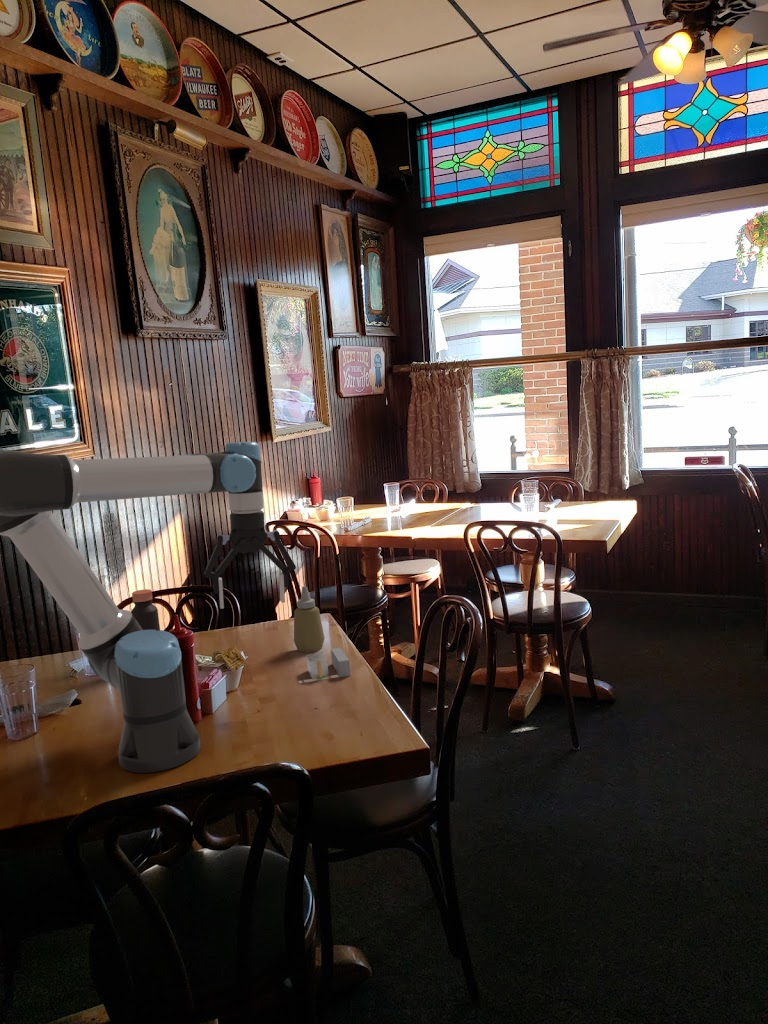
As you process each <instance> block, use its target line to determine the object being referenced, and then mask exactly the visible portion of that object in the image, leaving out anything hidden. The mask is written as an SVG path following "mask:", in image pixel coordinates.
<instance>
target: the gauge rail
mask: <svg viewBox="0 0 768 1024" xmlns="http://www.w3.org/2000/svg"><path fill="white" fill-rule="evenodd" d="M330 654H331V664H332V666H333V668H334V670H335V671H336V673H337V674H334V675H329V676H325V677H321V678H320V677H318V678H314V679H312V678H310V679H302V680H298V684H303V683H311V682H317V681H318V682H319V681H322V680H331V679H335V678H345V677H351V668H350V667H351V665H350V659H349V658H348V656H347V654H346V653H345V651H343V649H342V647H337V648H331V649H330Z"/></svg>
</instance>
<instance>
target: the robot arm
mask: <svg viewBox="0 0 768 1024" xmlns="http://www.w3.org/2000/svg"><path fill="white" fill-rule="evenodd" d="M224 448H225V449H224V451H222V452H221V451H220V452H207V453H205V452H204V453H203V452H201V453H188V454H180V455H173V456H172V455H168V456H167V455H166V456H142V457H117V458H116V457H115V458H112V457H111V458H92V459H91V458H90V459H72V458H70V456H68V455H67V454H43V453H42V454H41V453H32V452H27V451H20V450H14V449H11V450H10V449H3V448H0V536H5V537H9V539H10V540H11V541H12V542H13V544H14V545H15V547H16V548H17V550H18V551H19V552H20V553H21V555H22V556H23V557H24V559H25V560H26V562H27V563H28V564H29V566H30V567H31V568H32V570H33V572H34V573H35V574H36V576H37V577H38V579H39V580H40V581H41V582H42V585H44V587H45V588H46V589H47V591H48V592H49V593H50V595H51V596H52V597H53V599H54V600H55V602H56V603H57V604H58V606H59V607H60V608H61V610H62V611H63V612H64V614H65V615H66V616H67V618H68V619H69V621H70V622H71V624H72V625H73V627H74V628H75V629H76V630H77V632H78V633H79V634H80V636H79V640H78V644H77V645H78V647H79V648H80V650H81V651H82V652H83V654H84V655H85V657H86V658H87V662H88V664H89V666H90V669H91V670H92V671H93V673H94V674H95V676H97V677H98V678H99V679H101V680H102V681H104V682H106V683H108V685H111V686H112V687H113V688H115V689H116V690H117V691H118V692H119V694H120V700H121V701H120V702H121V708H122V717H123V727H122V731H121V736H120V741H119V745H118V750H117V753H118V754H117V756H118V763H119V766H120V767H121V768H122V769H123V770H125V771H128V772H132V773H138V774H141V773H142V774H145V773H157V772H162V771H166V770H170V769H172V768H173V769H174V768H176V767H179V766H181V765H184V764H186V763H187V762H189V761H190V760H192V759H193V758H195V757H196V756H197V755H198V754H199V752H200V750H201V739H200V735H199V732H198V731H197V728H196V727H195V724H194V722H193V721H192V720H193V719H192V718H191V716H190V714H189V712H188V709H187V701H186V691H185V680H184V673H183V663H182V657H183V656H182V651H181V648H180V644H179V640H178V638H177V637H176V635H174V634H173V633H171V632H169V631H166V630H162V629H160V630H159V631H156V630H143V629H142V628H141V627H140V625H139V624H138V622H137V621H136V619H135V618H134V616H133V615H132V613H131V611H130V610H127V609H120V608H119V607H118V606H117V604H116V603H115V601H114V600H113V599H112V597H111V596H110V594H109V593H108V591H107V589H106V588H105V587H104V585H103V583H101V581H100V580H99V578H98V576H97V575H96V574H95V572H94V571H93V570H92V568H91V567H90V565H89V564H88V562H87V561H86V559H85V558H84V556H83V555H82V554H81V552H80V551H79V549H78V548H77V545H75V544H74V542H73V540H72V539H71V538H70V536H69V534H68V533H67V532H66V531H65V529H64V528H63V526H62V525H61V522H59V521H58V519H57V517H56V516H55V514H54V513H53V511H63V510H69V509H72V508H73V507H74V506H75V504H78V503H89V502H101V501H114V500H115V501H116V500H128V499H141V498H142V499H143V498H155V497H169V496H181V495H194V494H212V493H213V494H215V493H228V506H229V510H230V511H231V513H230V514H229V522H230V534H227V535H226V534H221V533H218V534H217V536H216V544H215V547H214V549H213V551H212V553H211V556H210V559H209V561H208V563H207V565H206V567H205V570H204V574H203V575H204V577H205V578H209V579H211V580H212V584H213V593H214V594H215V595H216V594H219V595H218V596H219V608H220V610H222V609H224V608H225V603H224V590H223V589H224V587H223V578H222V577H221V575H222V574H223V573H224V571H225V570H226V569H227V567H228V566H229V565H230V564H231V562H232V561H233V559H234V558H235V557H236V556H237V555H238V553H242V554H249V553H252V554H253V553H258V552H259V551H261V552H262V553H263V554H265V556H267V558H269V560H270V561H272V563H273V564H274V565H276V568H278V569H279V570H280V572H278V584H279V599H280V602H281V604H282V603H286V598H285V597H286V595H285V588H288V587H289V581H290V580H289V573H290V572H291V571H295V570H296V569H297V568H296V567H297V566H296V564H295V562H294V561H293V559H292V557H291V556H290V554H289V553H288V552H289V551H288V550H287V548H286V546H284V544H283V542H282V540H281V535H280V531H278V530H277V529H274V530H272V531H267V532H266V525H265V523H266V522H265V512H264V511H262V510H263V509H264V492H263V479H262V478H263V477H262V476H263V475H262V462H263V460H262V456H261V451H260V445H259V444H258V443H257V442H256V441H237V442H227V443H226V444H225V447H224ZM268 538H270V540H271V541H273V542H275V543H274V544H275V545H276V546H277V548H278V549H279V551H280V553H281V555H282V556H283V558H284V560H285V561H286V563H287V564H286V565H284V563H282V561H280V559H279V558H278V557H277V556H276V555H275V554H274V553H273V552H272V551H271V550H270V549H269V548H268V547H267V546H266V545H265V543H266V540H268ZM228 541H229V542H230V543H231V544H232V545H233V547H232V548H231V549H230V551H229V552H228V553H227V555H226V556H225V558H223V560H222V561H221V562H220V564H219V565H218V566H217V568H216V569H215V570H214V568H215V566H216V565H215V564H216V563H217V561H218V558H219V556H220V554H221V551H222V549H223V545H226V544H227V542H228ZM213 570H214V571H213Z"/></svg>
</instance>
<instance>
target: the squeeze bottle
mask: <svg viewBox="0 0 768 1024" xmlns="http://www.w3.org/2000/svg"><path fill="white" fill-rule="evenodd" d="M296 607H297V608H296V609H295V610H294V611H293V644H294V645H295V647H296V649H297V651H298V652H300V653H312V652H314V653H315V652H317V651H320V650H321V649H323V647H324V643H325V634H324V629H323V623H322V618H321V613H320V608H319V607H317V606H316V601H315V598H311V596H310V593H309V590H308V586H301V595H300V599H297V601H296Z"/></svg>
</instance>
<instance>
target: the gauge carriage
mask: <svg viewBox="0 0 768 1024" xmlns="http://www.w3.org/2000/svg"><path fill="white" fill-rule="evenodd" d="M305 657H306V666H307V672H308V674H309V677H310V679H314V678H318V677H320V678H321V677H325V676H330V675H329V665H328V659H327V657H326V655H325V654H324V652H316V653H315V652H314V653H308V654H306V656H305Z"/></svg>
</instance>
